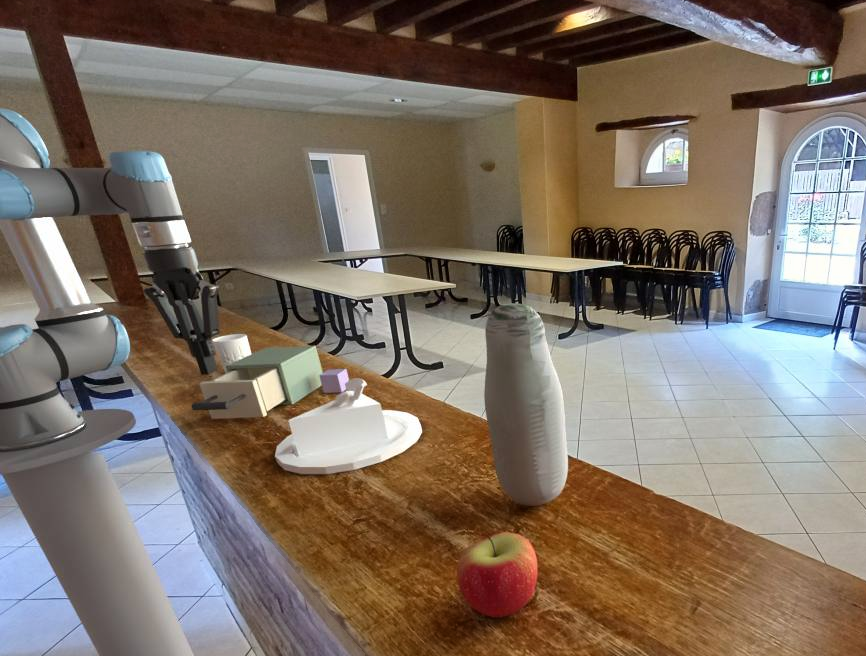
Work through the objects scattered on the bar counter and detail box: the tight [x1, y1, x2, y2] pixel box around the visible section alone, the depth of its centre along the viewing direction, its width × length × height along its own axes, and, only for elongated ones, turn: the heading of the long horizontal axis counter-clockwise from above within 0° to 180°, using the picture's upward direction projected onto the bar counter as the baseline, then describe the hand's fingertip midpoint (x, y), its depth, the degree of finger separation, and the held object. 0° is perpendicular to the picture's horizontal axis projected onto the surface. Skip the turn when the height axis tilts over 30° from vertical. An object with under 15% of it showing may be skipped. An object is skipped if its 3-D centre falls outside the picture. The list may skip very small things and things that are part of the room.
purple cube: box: [319, 368, 350, 394], centre depth 130 cm, size 4×4×4 cm
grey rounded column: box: [483, 303, 569, 507], centre depth 74 cm, size 10×10×28 cm
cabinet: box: [226, 345, 324, 406], centre depth 128 cm, size 15×13×10 cm
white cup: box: [211, 333, 252, 374], centre depth 146 cm, size 8×8×10 cm
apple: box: [456, 532, 538, 618], centre depth 58 cm, size 8×8×10 cm
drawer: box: [191, 367, 287, 420], centre depth 117 cm, size 20×11×8 cm, turn 177°
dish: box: [274, 377, 423, 475], centre depth 100 cm, size 25×25×11 cm
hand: (209, 372), depth 108 cm, fingers closed
